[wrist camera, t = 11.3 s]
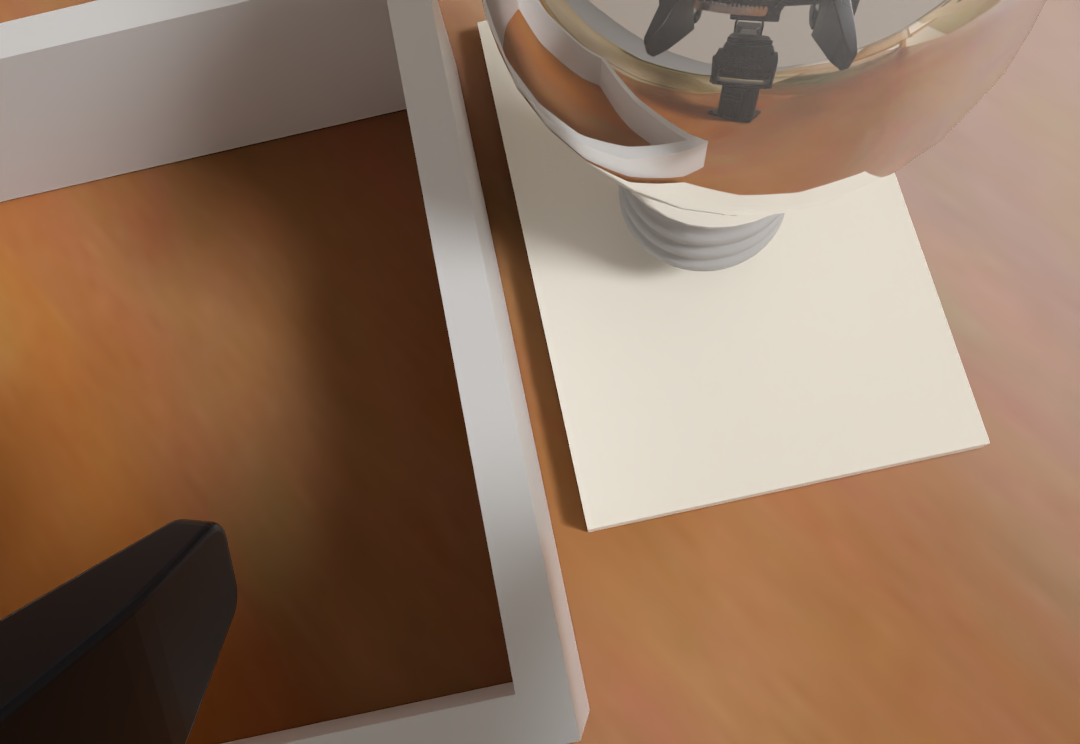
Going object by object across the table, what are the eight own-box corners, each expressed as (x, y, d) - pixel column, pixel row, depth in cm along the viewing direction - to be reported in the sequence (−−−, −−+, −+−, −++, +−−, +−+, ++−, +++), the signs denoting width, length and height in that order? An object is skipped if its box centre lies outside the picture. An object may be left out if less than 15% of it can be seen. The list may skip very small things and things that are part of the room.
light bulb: (479, 170, 20) (286, -449, 8) (749, 27, 20) (920, -753, 9) (637, 438, 18) (668, 115, 6) (932, 275, 18) (1459, -306, 7)
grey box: (589, 710, 17) (580, 740, 13) (-139, 863, 18) (-386, 943, 13) (456, 67, 21) (415, -75, 17) (-133, 202, 22) (-321, 98, 17)
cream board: (980, 447, 18) (989, 443, 17) (588, 532, 18) (587, 529, 18) (809, -41, 21) (813, -56, 21) (480, 35, 21) (477, 22, 21)
